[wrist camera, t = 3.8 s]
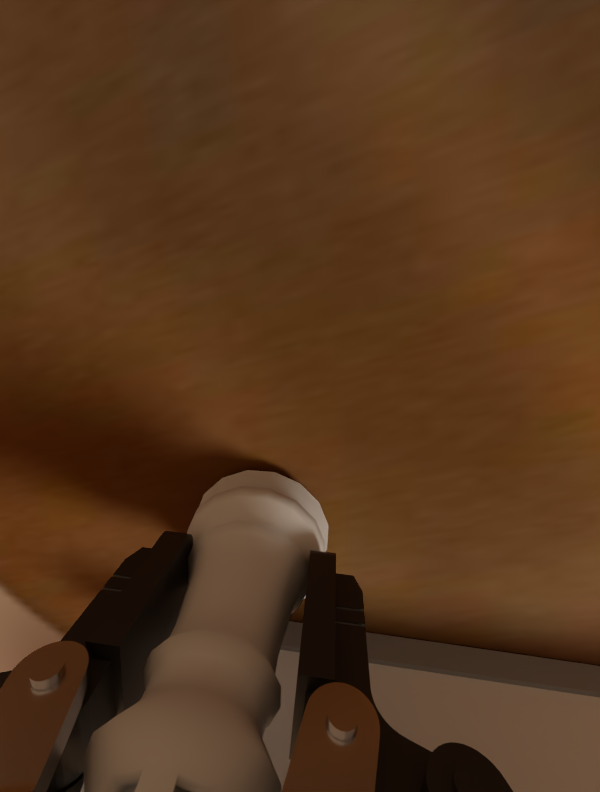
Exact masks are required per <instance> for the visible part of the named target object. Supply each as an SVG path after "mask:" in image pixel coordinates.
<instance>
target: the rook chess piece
mask: <svg viewBox="0 0 600 792" xmlns="http://www.w3.org/2000/svg"><path fill="white" fill-rule="evenodd" d="M187 534H191V535H192V537H193V547H192V549H191V552H190V554H189V556H188V581H189V584H188V587H187V590H186V593H185V596H184V599H183V603H182V606H181V609H180V612H179V615H178V618H177V621H176V624H175V627H174V629H173V631H172V633H171V635H170V637H169V638H168V639H166V640H165V641H164V642H163V643H161V644H160V645H159V646H157V647H156V648H155V649H153V650H152V651H151V653H150V655H149V657H148V659H147V662H146V664H145V666H144V669H143V674H144V683H145V692H144V694H143V696H142V698H141V699H140V701H139V702H137V703H136V704H134V705H133V706H131V707H129V708H128V709H126V710H125V711H123V712H122V713H120V714H118V715H117V716H116V717H114V718H113V719H111V720H110V721H108V722H107V723H106V724H104V725H103V726H101V727H100V728H99V729H97V730H96V731H94V732H93V734H92V736H91V739H90V741H89V743H88V746H87V748H86V751H85V753H84V756H83V769H84V792H281V783H280V780H279V778H278V775H277V773H276V771H275V768H274V766H273V763H272V761H271V758H270V756H269V754H268V751H267V749H266V746H265V744H264V742H263V734H264V731H265V728H266V727H268V726H269V725H270V723H271V722H272V720H273V719H274V717H275V715H276V714H277V712H278V711H279V709H280V707H281V685H280V683H279V681H278V679H277V677H276V675H275V673H276V667H277V661H278V655H279V652H280V649H281V645H282V642H283V639H284V636H285V633H286V629H287V626H288V623H289V620H290V616H291V613H293V612H294V611H296V610H297V609H298V607H299V606H300V604H301V602H302V601H303V599H304V598H305V597H306V587H307V577H308V568H309V558H310V550H314V551H322V552H326V550H327V541H328V523H327V521H326V518H325V516H324V513H323V511H322V508H321V506H320V503H319V502H318V501H317V500H316V499H315V498H314V497H313V496H312V495H311V494H310V493H309V492H308V491H307V490H306V489H305V488H304V487H303V486H302V485H301V484H300V483H298V482H296V481H293V480H291V479H289V478H287V477H285V476H282V475H280V474H278V473H276V472H267V471H254V470H246V471H243V472H239V473H236V474H233V475H230V476H227V477H223V478H222V479H220V480H219V481H218V482H217V483H216V484H215V485H214V486H212V487H211V488H210V489H209V490H208V491H207V492H206V493H204V495H203V498H202V500H201V502H200V505H199V507H198V509H197V510H196V512H195V514H194V517H193V519H192V521H191V524H190V526H189V528H188V531H187Z"/></svg>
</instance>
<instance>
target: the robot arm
mask: <svg viewBox="0 0 600 792" xmlns="http://www.w3.org/2000/svg"><path fill="white" fill-rule="evenodd" d="M192 547H193V537H192V535H191V534H186V533H178V532H170V531H165V532H164V533H163V534H162V535H161V536H160V538H159V539H158V541H157V542H156V543H155V545H154V546H153V547H152V548H144V547H142V548H141V549H139V550H138V551H136V552H135V553H134V554H132V555H131V556H129V557H128V558H126V559H125V560H124V562H123V563H122V564H121V565H120V567H119V568H118V569H117V570H116V572H115V573H114V575H113V577H111V578H110V579H109V580H108V582H107V583H106V584H105V586H104V588H103V590H101V591H100V592H99V593H98V594H97V596H96V597H95V598H94V599H93V601H92V602H91V603H90V604H89V606H88V607H87V608H86V609H85V611H84V612H83V613H82V615H81V616H80V617H79V618H78V620H77V621H76V622H75V623H74V625H73V626H72V627H71V628H70V630H69V631H68V632H67V633H66V635H65V636H64V637H63V639H62V640H61V641H59V642H55V643H51V644H48V645H46V646H43V647H41V648H39V649H37V650H36V651H34V652H32V653H31V654H29V655H28V656H27V657H25V658H24V659H23V660H22V661H21V662H20V663H19V664H18V665H17V666H16V667H15V668H14V669H13V670H12V671H7V672H2V673H0V792H84V769H83V756H84V753H85V751H86V748H87V746H88V743H89V741H90V739H91V736H92V734H93V732H94V731H96V730H97V729H99V728H100V727H101V726H103V725H104V724H106V723H107V722H108V721H110V720H111V719H113V718H114V717H116V716H117V715H118V714H120V713H122V712H123V711H125V710H126V709H128V708H129V707H131V706H133V705H134V704H136V703H137V702H139V701H140V699H141V698H142V696H143V694H144V692H145V683H144V674H143V669H144V666H145V664H146V662H147V659H148V657H149V655H150V653H151V651H152V650H153V649H155V648H156V647H157V646H159V645H160V644H161V643H163V642H164V641H165V640H166V639H168V638H169V637H170V635H171V633H172V631H173V629H174V627H175V624H176V621H177V618H178V615H179V612H180V609H181V606H182V603H183V599H184V596H185V593H186V590H187V587H188V584H189V581H188V556H189V554H190V552H191V549H192ZM289 759H290V760H291V761H290V764H289V768H288V771H287V775H286V778H285V782H284V785H283V789H282V792H513V790H512V789H511V787H510V786H509V784H508V783H507V781H506V780H505V778H504V777H503V775H502V774H501V772H500V771H499V770H498V769H497V768H496V766H495V765H494V764H493V763H492V762H491V761H490V760H489V759H488V758H486V757H485V756H484V755H483V754H481V753H480V752H479V751H477V750H475V749H473V748H472V747H470V746H467V745H465V744H461V743H456V742H449V743H444V744H442V745H440V746H438V747H437V748H436V749H434V751H433V752H431V751H429V750H428V749H426V748H424V747H422V746H420V745H418V744H417V743H415V742H413V741H411V740H409V739H407V738H406V737H404V736H402V735H401V734H399V733H398V732H397V731H395V730H394V729H393V728H392V727H391V726H390V725H389V724H388V723H387V722H386V721H385V719H384V718H383V717H382V716H381V714H380V712H379V711H378V709H377V707H376V705H375V703H374V700H373V697H372V693H371V687H370V675H369V663H368V651H367V640H366V628H365V616H364V604H363V593H362V590H361V588H360V587H359V585H358V583H357V581H356V579H355V578H354V576H351V575H344V574H336V553H330V552H322V551H314V550H310V558H309V568H308V577H307V587H306V597H305V606H304V616H303V626H302V635H301V645H300V655H299V664H298V674H297V684H296V694H295V704H294V714H293V724H292V734H291V744H290V754H289Z"/></svg>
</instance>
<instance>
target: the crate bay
mask: <svg viewBox="0 0 600 792" xmlns="http://www.w3.org/2000/svg"><path fill="white" fill-rule="evenodd" d="M302 626H303V623H299V622H292V621H289V623H288V626H287V629H286V633H285V636H284V639H283V642H282V645H281V649H280V652H279V655H278V661H277V667H276V673H275V675H276V677H277V679H278V681H279V683H280V685H281V707H280V709H279V711H278V712H277V714H276V715H275V717H274V719H273V720H272V722H271V723H270V725H269V726H268V727H266V728H265V731H264V734H263V742H264V744H265V746H266V749H267V751H268V754H269V756H270V758H271V761H272V763H273V766H274V768H275V771H276V773H277V775H278V778H279V780H280V783H281V792H282V789H283V785H284V782H285V778H286V775H287V771H288V768H289V764H290V761H291V760H290V759H289V754H290V744H291V734H292V724H293V714H294V704H295V694H296V684H297V674H298V664H299V655H300V645H301V635H302ZM366 640H367V651H368V663H369V675H370V687H371V693H372V697H373V700H374V703H375V705H376V707H377V709H378V711H379V712H380V714H381V716H382V717H383V718H384V719H385V721H386V722H387V723H388V724H389V725H390V726H391V727H392V728H393V729H394V730H395V731H397V732H398V733H399V734H401V735H402V736H404V737H406V738H407V739H409V740H411V741H413V742H415V743H417V744H418V745H420V746H422V747H424V748H426V749H428V750H429V751H431V752H433V751H434V749H436V748H437V747H438V746H440V745H442V744H444V743H449V742H456V743H461V744H465V745H467V746H470V747H472V748H473V749H475V750H477V751H479V752H480V753H481V754H483V755H484V756H485V757H486V758H488V759H489V760H490V761H491V762H492V763H493V764H494V765H495V766H496V768H497V769H498V770H499V771H500V772H501V774H502V775H503V777H504V778H505V780H506V781H507V783H508V784H509V786H510V787H511V789H512V790H513V792H600V666H596V665H590V664H583V663H576V662H569V661H562V660H555V659H548V658H541V657H534V656H527V655H520V654H513V653H507V652H500V651H493V650H486V649H479V648H472V647H465V646H458V645H451V644H444V643H437V642H430V641H424V640H417V639H410V638H403V637H396V636H389V635H382V634H375V633H368V632H366Z"/></svg>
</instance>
